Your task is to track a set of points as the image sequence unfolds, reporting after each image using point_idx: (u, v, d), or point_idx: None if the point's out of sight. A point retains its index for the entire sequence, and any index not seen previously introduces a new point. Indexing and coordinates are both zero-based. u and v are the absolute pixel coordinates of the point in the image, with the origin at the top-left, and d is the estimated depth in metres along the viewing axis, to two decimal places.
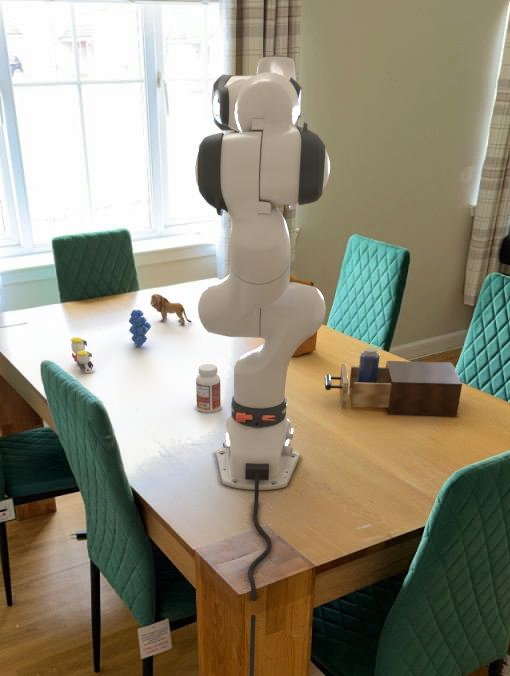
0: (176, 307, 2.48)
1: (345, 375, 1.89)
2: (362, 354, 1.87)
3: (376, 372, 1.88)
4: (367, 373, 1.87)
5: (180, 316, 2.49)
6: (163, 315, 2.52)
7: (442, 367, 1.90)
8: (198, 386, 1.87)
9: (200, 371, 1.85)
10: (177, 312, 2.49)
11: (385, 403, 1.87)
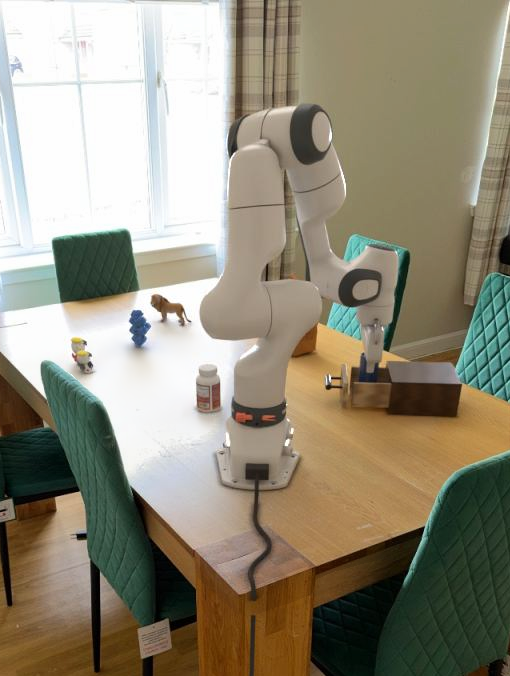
0: (176, 307, 2.48)
1: (345, 375, 1.89)
2: (362, 354, 1.87)
3: (376, 372, 1.88)
4: (367, 373, 1.87)
5: (180, 316, 2.49)
6: (163, 315, 2.52)
7: (442, 367, 1.90)
8: (198, 386, 1.87)
9: (200, 371, 1.85)
10: (177, 312, 2.49)
11: (385, 403, 1.87)
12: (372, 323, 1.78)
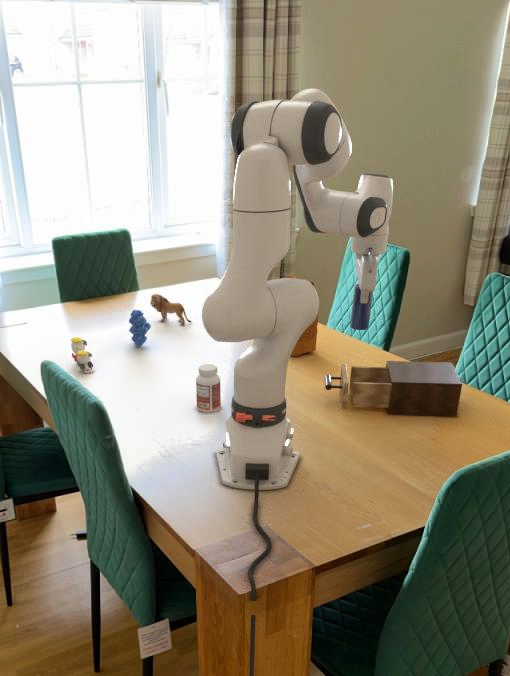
0: (176, 307, 2.48)
1: (345, 375, 1.89)
2: (356, 285, 1.91)
3: (370, 303, 1.91)
4: (361, 304, 1.91)
5: (180, 316, 2.49)
6: (163, 315, 2.52)
7: (442, 367, 1.90)
8: (198, 386, 1.87)
9: (200, 371, 1.85)
10: (177, 312, 2.49)
11: (385, 403, 1.87)
12: (366, 252, 1.82)
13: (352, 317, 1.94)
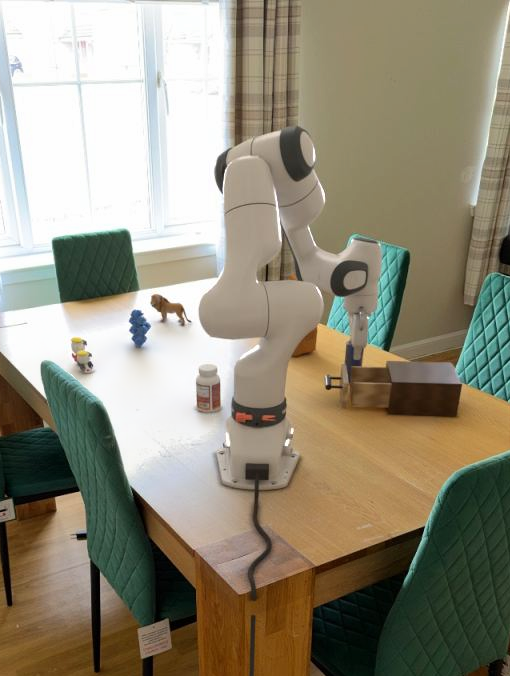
0: (176, 307, 2.48)
1: (345, 375, 1.89)
2: (348, 342, 2.01)
3: (361, 359, 2.02)
4: (353, 360, 2.01)
5: (180, 316, 2.49)
6: (163, 315, 2.52)
7: (442, 367, 1.90)
8: (198, 386, 1.87)
9: (200, 371, 1.85)
10: (177, 312, 2.49)
11: (385, 403, 1.87)
12: (358, 311, 1.92)
13: None
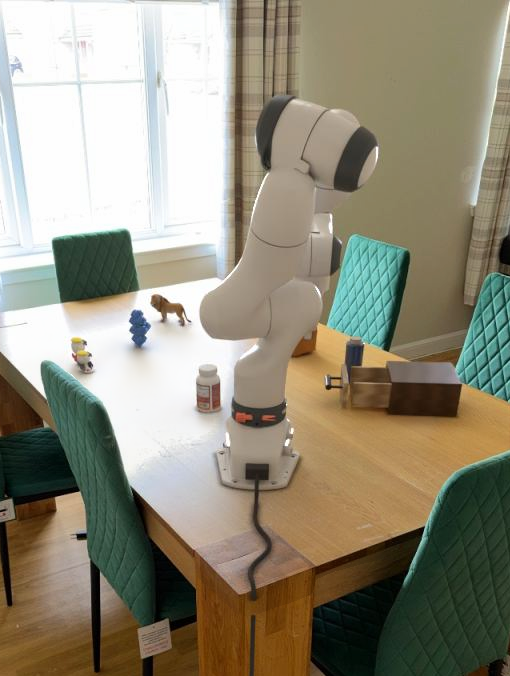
0: (176, 307, 2.48)
1: (345, 375, 1.89)
2: (348, 342, 2.01)
3: (361, 359, 2.02)
4: (353, 360, 2.01)
5: (180, 316, 2.49)
6: (163, 315, 2.52)
7: (442, 367, 1.90)
8: (198, 386, 1.87)
9: (200, 371, 1.85)
10: (177, 312, 2.49)
11: (385, 403, 1.87)
12: None
13: None
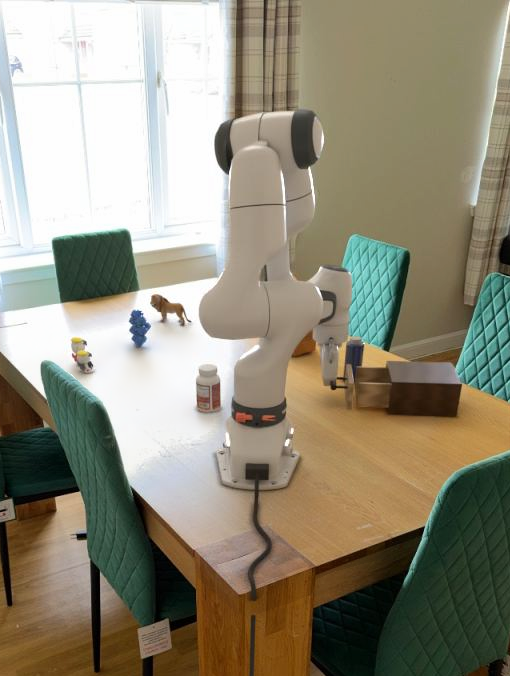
0: (176, 307, 2.48)
1: (350, 375, 1.89)
2: (348, 342, 2.01)
3: (361, 359, 2.02)
4: (353, 360, 2.01)
5: (180, 316, 2.49)
6: (163, 315, 2.52)
7: (442, 367, 1.90)
8: (198, 386, 1.87)
9: (200, 371, 1.85)
10: (177, 312, 2.49)
11: None
12: (327, 342, 1.82)
13: (345, 371, 2.04)
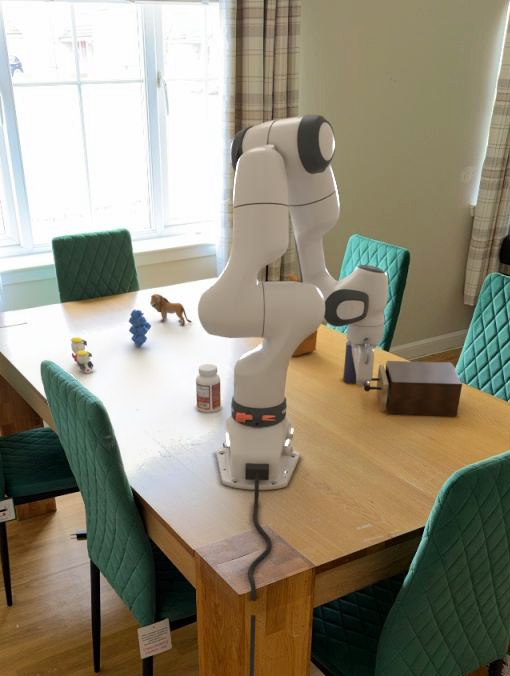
0: (176, 307, 2.48)
1: (384, 376, 1.88)
2: (348, 342, 2.01)
3: None
4: None
5: (180, 316, 2.49)
6: (163, 315, 2.52)
7: (442, 367, 1.90)
8: (198, 386, 1.87)
9: (200, 371, 1.85)
10: (177, 312, 2.49)
11: None
12: (362, 343, 1.81)
13: (345, 371, 2.04)
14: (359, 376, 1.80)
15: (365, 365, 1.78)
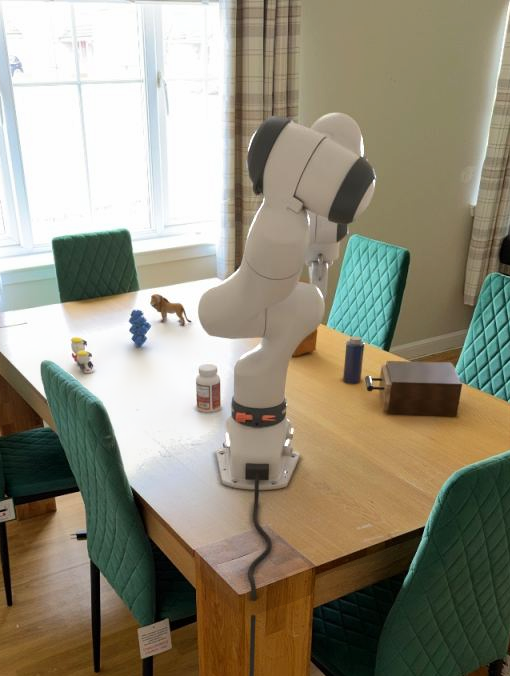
0: (176, 307, 2.48)
1: (387, 376, 1.88)
2: (348, 342, 2.01)
3: (361, 359, 2.02)
4: (353, 360, 2.01)
5: (180, 316, 2.49)
6: (163, 315, 2.52)
7: (442, 367, 1.90)
8: (198, 386, 1.87)
9: (200, 371, 1.85)
10: (177, 312, 2.49)
11: None
12: (316, 259, 1.69)
13: (345, 371, 2.04)
14: None
15: (318, 282, 1.66)
